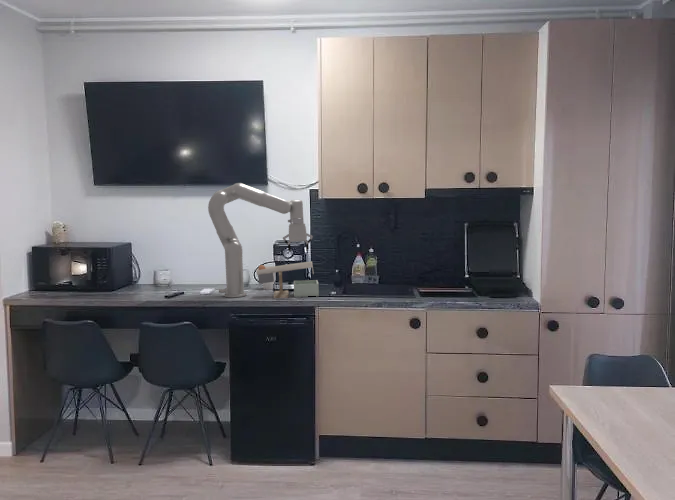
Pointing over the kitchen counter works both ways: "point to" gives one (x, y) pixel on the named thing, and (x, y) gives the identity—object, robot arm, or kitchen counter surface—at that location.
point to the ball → (261, 267)
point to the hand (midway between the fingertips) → (298, 251)
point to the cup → (306, 288)
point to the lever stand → (281, 289)
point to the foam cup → (269, 284)
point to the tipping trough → (267, 273)
